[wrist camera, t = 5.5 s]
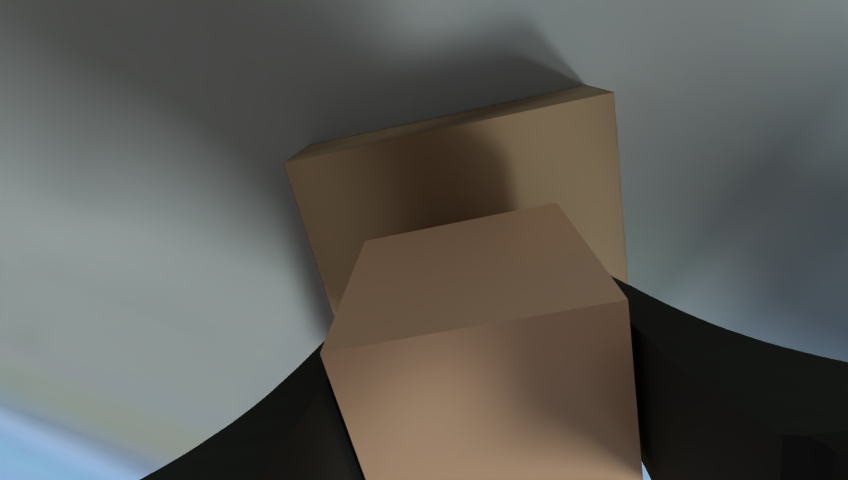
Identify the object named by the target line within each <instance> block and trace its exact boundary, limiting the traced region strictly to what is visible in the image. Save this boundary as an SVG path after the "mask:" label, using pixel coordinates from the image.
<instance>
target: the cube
mask: <svg viewBox="0 0 848 480" xmlns="http://www.w3.org/2000/svg"><path fill="white" fill-rule="evenodd" d="M320 356H321V358H322V361H323V364H324V367H325V369H326V372H327V375H328V378H329V380H330V383H331V386H332V388H333V391H334V394H335V397H336V399H337V402H338V405H339V408H340V410H341V413H342V416H343V419H344V421H345V424H346V427H347V430H348V432H349V435H350V438H351V441H352V443H353V446H354V449H355V452H356V454H357V457H358V460H359V463H360V465H361V468H362V471H363V474H364V476H365V479H366V480H643V475H642V462H641V450H640V438H639V426H638V414H637V402H636V390H635V378H634V366H633V354H632V342H631V329H630V317H629V305H628V299H627V297H626V296H625V295H624V293H623V292H622V291H621V289H620V288H619V287H618V285H617V284H616V283H615V281H614V280H613V278H612V277H611V276H610V274H609V273H608V272H607V270H606V269H605V268H604V266H603V265H602V264H601V262H600V261H599V259H598V258H597V257H596V255H595V254H594V253H593V251H592V250H591V249H590V247H589V246H588V245H587V243H586V242H585V240H584V239H583V238H582V236H581V235H580V234H579V232H578V231H577V230H576V228H575V227H574V226H573V224H572V223H571V221H570V220H569V219H568V217H567V216H566V215H565V213H564V212H563V211H562V209H561V208H560V207H559V205H558V204H557V202H556V203H551V204H546V205H541V206H536V207H531V208H526V209H521V210H516V211H511V212H506V213H501V214H496V215H491V216H486V217H482V218H477V219H472V220H467V221H462V222H457V223H452V224H447V225H442V226H437V227H432V228H427V229H422V230H417V231H412V232H407V233H402V234H397V235H392V236H387V237H382V238H377V239H372V240H367V241H365V242H364V245H363V247H362V250H361V252H360V255H359V257H358V260H357V262H356V265H355V267H354V270H353V272H352V275H351V277H350V280H349V282H348V285H347V287H346V290H345V292H344V295H343V297H342V300H341V302H340V305H339V307H338V309H337V312H336V314H335V317H334V319H333V322H332V324H331V327H330V329H329V332H328V334H327V337H326V339H325V342H324V344H323V347H322V349H321V352H320Z"/></svg>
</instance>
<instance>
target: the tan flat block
mask: <svg viewBox="0 0 848 480" xmlns="http://www.w3.org/2000/svg"><path fill="white" fill-rule="evenodd" d="M284 166H285V169H286V172H287V175H288V179H289V182H290V185H291V188H292V191H293V194H294V197H295V200H296V203H297V206H298V209H299V212H300V215H301V218H302V221H303V224H304V227H305V230H306V233H307V236H308V239H309V242H310V246H311V249H312V252H313V255H314V258H315V261H316V264H317V267H318V270H319V273H320V276H321V279H322V282H323V285H324V288H325V291H326V294H327V297H328V300H329V303H330V306H331V309H332V312H333V316H334V317H335V314H336V312H337V309H338V307H339V305H340V302H341V300H342V297H343V295H344V292H345V290H346V287H347V285H348V282H349V280H350V277H351V275H352V272H353V270H354V267H355V265H356V262H357V260H358V257H359V255H360V252H361V250H362V247H363V245H364V242H365V241H367V240H372V239H377V238H382V237H387V236H392V235H397V234H402V233H407V232H412V231H417V230H422V229H427V228H432V227H437V226H442V225H447V224H452V223H457V222H462V221H467V220H472V219H477V218H482V217H486V216H491V215H496V214H501V213H506V212H511V211H516V210H521V209H526V208H531V207H536V206H541V205H546V204H551V203H556V202H557V204H558V205H559V207H560V208H561V209H562V211H563V212H564V213H565V215H566V216H567V217H568V219H569V220H570V221H571V223H572V224H573V226H574V227H575V228H576V230H577V231H578V232H579V234H580V235H581V236H582V238H583V239H584V240H585V242H586V243H587V245H588V246H589V247H590V249H591V250H592V251H593V253H594V254H595V255H596V257H597V258H598V259H599V261H600V262H601V264H602V265H603V266H604V268H605V269H606V270H607V272H608V273H609V274H610V276H613V277H615V278H617V279H618V280H620V281H622V282H624V283H626V284H628V283H627V269H626V255H625V241H624V227H623V213H622V199H621V185H620V171H619V157H618V143H617V129H616V115H615V101H614V92H611V91H607V90H603V89H599V88H596V87H592V86H588V85H584V86H579V87H575V88H570V89H565V90H561V91H556V92H552V93H547V94H543V95H538V96H533V97H529V98H524V99H520V100H515V101H511V102H506V103H501V104H497V105H492V106H488V107H483V108H479V109H474V110H469V111H465V112H460V113H456V114H451V115H447V116H442V117H437V118H433V119H428V120H424V121H419V122H415V123H410V124H405V125H401V126H396V127H392V128H387V129H383V130H378V131H373V132H369V133H364V134H360V135H355V136H350V137H346V138H341V139H337V140H332V141H328V142H323V143H318V144H314V145H309V146H307V147H306V148H304V149H303V150H301V151H300V152H299V153H297V154H296V155H294V156H293V157H292V158H290V159H289V160H287V161H286V162H285V163H284Z"/></svg>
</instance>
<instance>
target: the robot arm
mask: <svg viewBox="0 0 848 480" xmlns="http://www.w3.org/2000/svg"><path fill="white" fill-rule="evenodd" d="M611 277H612V278H613V280H614V281H615V283H616V284H617V285H618V287H619V288H620V289H621V291H622V292H623V293H624V295H625V296H626V297H627V299H628V305H629V317H630V329H631V342H632V354H633V366H634V378H635V390H636V402H637V414H638V426H639V438H640V450H641V461H642V462H643V464H644V466H645V468H646V470H647V472H648V474H649V476H650V478H651V480H848V362H844V361H839V360H834V359H830V358H825V357H821V356H816V355H812V354H808V353H805V352H801V351H797V350H793V349H789V348H785V347H781V346H777V345H774V344H770V343H767V342H764V341H760V340H757V339H754V338H751V337H748V336H745V335H742V334H739V333H736V332H733V331H730V330H727V329H724V328H722V327H719V326H716V325H714V324H711V323H709V322H706V321H704V320H701V319H699V318H697V317H694V316H692V315H690V314H687V313H685V312H683V311H680V310H678V309H676V308H674V307H672V306H670V305H667V304H665V303H663V302H661V301H659V300H657V299H655V298H653V297H651V296H649V295H647V294H645V293H643V292H641V291H639V290H638V289H636V288H634V287H632V286H630V285H628V284H626V283H624V282H622V281H620V280H618V279H617V278H615V277H613V276H611ZM324 342H325V341H324ZM324 342H323V343H322V344H321V345H320V346H319V347H318V348H317V349H316V350H315V351H314V352H313V353H312V354H311V355H310V356H309V357H308V358H307V359H306V360H305V361H304V362H303V363H302V364H301V365H300V366H299V367H298V368H297V369H296V370H295V371H294V372H292V373H291V374H290V375H289V376H288V377H287V378H286V379H285V380H284V381H283V382H282V383H280V384H279V385H278V386H277V387H276V388H275V389H274V390H273V391H272V392H271V393H269V394H268V395H267V396H266V397H265V398H263V399H262V400H261V401H260V402H259V403H257V404H256V405H255V406H254V407H252V408H251V409H250V410H248V411H247V412H246V413H244V414H243V415H242V416H241V417H239V418H238V419H237V420H235V421H234V422H233V423H231V424H230V425H228V426H227V427H225V428H224V429H222V430H221V431H219V432H218V433H216V434H215V435H213V436H212V437H210V438H209V439H207V440H206V441H204V442H203V443H201V444H200V445H198V446H197V447H195V448H194V449H192V450H191V451H189V452H188V453H186V454H184V455H183V456H181V457H179V458H178V459H176V460H174V461H172V462H171V463H169V464H167V465H166V466H164V467H162V468H160V469H159V470H157V471H155V472H153V473H151V474H149V475H148V476H146V477H144V478H142V479H140V480H366V479H365V476H364V474H363V471H362V468H361V465H360V463H359V460H358V457H357V454H356V452H355V449H354V446H353V443H352V441H351V438H350V435H349V432H348V430H347V427H346V424H345V421H344V419H343V416H342V413H341V410H340V408H339V405H338V402H337V399H336V397H335V394H334V391H333V388H332V386H331V383H330V380H329V378H328V375H327V372H326V369H325V367H324V364H323V361H322V358H321V356H320V352H321V349H322V347H323V344H324Z"/></svg>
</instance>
